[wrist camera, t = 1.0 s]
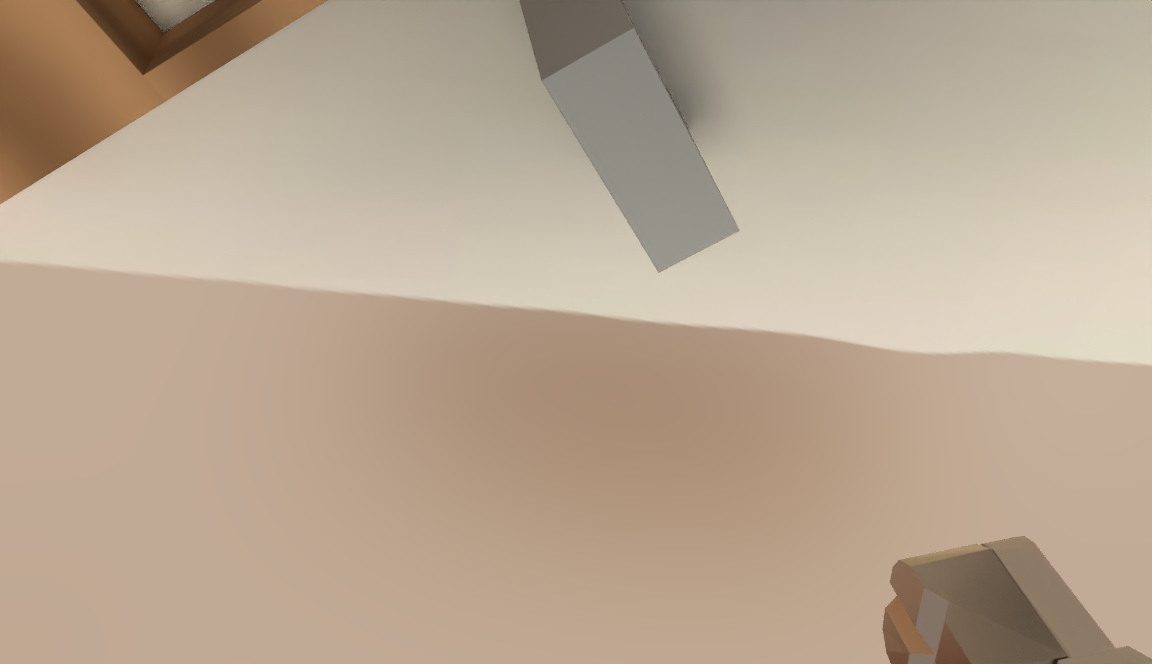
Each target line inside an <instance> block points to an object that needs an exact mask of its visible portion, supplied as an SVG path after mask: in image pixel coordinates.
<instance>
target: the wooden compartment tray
mask: <svg viewBox="0 0 1152 664" xmlns="http://www.w3.org/2000/svg"><path fill="white" fill-rule="evenodd" d="M325 1H327V0H216V1H214V2H212V3H211V4H209V5H208V6H206V7H205V8H203V9H201V10H200V11H198V12H197V13H195V14H194V15H192V16H190V17H189V18H187V19H186V20H184V21H183V22H181V23H180V24H178V25H176V26H175V27H173V28H172V29H170V30H169V31H167V32H165V33H164V34H163V33H162V32H161V30H160V29H159V28H158V27H157V26H156V25H155V23H154V22H153V21H152V20H151V19H150V18H149V16H148V15H147V14H146V13H145V12H144V11H143V9H142V8H141V7H140V6H139V5H138V4H137V2H136V1H135V0H0V204H1V203H3V202H4V201H6V200H8V199H9V198H11V197H12V196H14V195H16V194H17V193H19V192H20V191H22V190H24V189H25V188H27V187H29V186H30V185H32V184H33V183H35V182H37V181H38V180H40V179H41V178H43V177H45V176H46V175H48V174H49V173H51V172H53V171H54V170H56V169H57V168H59V167H61V166H62V165H64V164H65V163H67V162H69V161H70V160H72V159H73V158H75V157H77V156H78V155H80V154H81V153H83V152H85V151H86V150H88V149H89V148H91V147H93V146H94V145H96V144H98V143H99V142H101V141H102V140H104V139H106V138H107V137H109V136H110V135H112V134H114V133H115V132H117V131H118V130H120V129H122V128H123V127H125V126H126V125H128V124H130V123H131V122H133V121H134V120H136V119H138V118H139V117H141V116H142V115H144V114H146V113H147V112H149V111H150V110H152V109H154V108H155V107H157V106H159V105H160V104H162V103H163V102H165V101H167V100H168V99H170V98H171V97H173V96H175V95H176V94H178V93H179V92H181V91H183V90H184V89H186V88H187V87H189V86H191V85H192V84H194V83H195V82H197V81H199V80H200V79H202V78H203V77H205V76H207V75H208V74H210V73H211V72H213V71H215V70H216V69H218V68H219V67H221V66H223V65H224V64H226V63H228V62H229V61H231V60H232V59H234V58H236V57H237V56H239V55H240V54H242V53H244V52H245V51H247V50H248V49H250V48H252V47H253V46H255V45H256V44H258V43H260V42H261V41H263V40H264V39H266V38H268V37H269V36H271V35H272V34H274V33H276V32H277V31H279V30H280V29H282V28H284V27H285V26H287V25H288V24H290V23H292V22H293V21H295V20H297V19H298V18H300V17H301V16H303V15H305V14H306V13H308V12H309V11H311V10H313V9H314V8H316V7H317V6H319V5H321V4H322V3H324V2H325Z"/></svg>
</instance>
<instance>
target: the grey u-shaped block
mask: <svg viewBox="0 0 1152 664" xmlns="http://www.w3.org/2000/svg"><path fill="white" fill-rule="evenodd" d="M520 4H521V7H522V11H523V15H524V18H525V22H526V25H527V29H528V33H529V36H530V40H531V44H532V47H533V51H534V54H535V58H536V62H537V65H538V69H539V72H540V76H541V80H542V82H543V84H544V85H545V87H546V88H547V90H548V92H549V93H550V95H551V97H552V98H553V100H554V102H555V103H556V105H557V107H558V108H559V110H560V111H561V113H562V115H563V116H564V118H565V120H566V121H567V123H568V125H569V126H570V128H571V130H572V131H573V133H574V134H575V136H576V138H577V139H578V141H579V143H580V144H581V146H582V148H583V149H584V151H585V153H586V154H587V156H588V157H589V159H590V161H591V162H592V164H593V166H594V167H595V169H596V171H597V172H598V174H599V176H600V177H601V179H602V180H603V182H604V184H605V185H606V187H607V189H608V190H609V192H610V194H611V195H612V197H613V199H614V200H615V202H616V203H617V205H618V207H619V208H620V210H621V212H622V213H623V215H624V217H625V218H626V220H627V222H628V223H629V225H630V226H631V228H632V230H633V231H634V233H635V235H636V236H637V238H638V240H639V241H640V243H641V245H642V246H643V248H644V249H645V251H646V253H647V254H648V256H649V258H650V259H651V261H652V263H653V264H654V266H655V268H656V269H657V271H658V272H661V271H663V270H665V269H667V268H669V267H671V266H673V265H674V264H676V263H678V262H680V261H682V260H684V259H686V258H688V257H690V256H692V255H694V254H696V253H697V252H699V251H701V250H703V249H705V248H707V247H709V246H711V245H713V244H715V243H717V242H719V241H721V240H722V239H724V238H726V237H728V236H730V235H732V234H734V233H736V232H738V231H739V229H738V227H737V225H736V223H735V221H734V219H733V217H732V215H731V213H730V211H729V209H728V207H727V205H726V203H725V201H724V199H723V197H722V195H721V193H720V191H719V189H718V187H717V185H716V184H715V182H714V180H713V178H712V176H711V174H710V172H709V170H708V168H707V166H706V164H705V162H704V160H703V158H702V156H701V154H700V152H699V150H698V148H697V146H696V144H695V142H694V140H693V138H692V136H691V134H690V132H689V130H688V128H687V127H686V125H685V123H684V121H683V119H682V117H681V115H680V113H679V111H678V109H677V107H676V105H675V103H674V102H673V100H672V98H671V96H670V94H669V92H668V90H667V88H665V86H664V84H663V82H662V80H661V78H660V76H659V75H658V73H657V71H656V69H655V67H654V65H653V63H652V61H651V59H650V57H649V55H648V53H647V52H646V50H645V48H644V46H643V44H642V42H641V40H640V38H639V36H638V34H637V32H636V30H635V28H634V26H633V24H632V22H631V20H630V18H629V16H628V14H627V12H626V10H625V8H624V6H623V4H622V2H621V0H520Z"/></svg>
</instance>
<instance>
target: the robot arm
mask: <svg viewBox="0 0 1152 664" xmlns="http://www.w3.org/2000/svg"><path fill="white" fill-rule="evenodd" d="M890 583H891V585H892V587H893V588H894V590H895V592H896V594H897V596H896V598H895V599H894V600H893V601H892V602H891V603H890V604H889V605H888V606H887V607H886V608H885V614H884V621H883V634H884V640H885V646H886V652H887V655H888V657H889V660H890V663H891V664H1152V659H1151V658H1149V657H1147V656H1145V655H1143V654H1142V653H1140V652H1138V651H1136V650H1134V649H1133V648H1131V647H1129V646H1126V647H1120V648H1115V647H1114V645H1113V644H1112V643H1111V641H1110V640H1109V639H1108V638H1107V636H1106V635H1105V634H1104V632H1103V631H1102V630H1101V629H1100V627H1099V626H1098V625H1097V623H1096V622H1095V621H1094V620H1093V618H1092V617H1091V616H1090V614H1089V613H1088V612H1087V611H1086V609H1085V608H1084V607H1083V605H1082V604H1081V603H1080V602H1079V600H1078V599H1077V598H1076V596H1075V595H1074V594H1073V592H1072V591H1071V590H1070V588H1069V587H1068V586H1067V585H1066V583H1065V582H1064V581H1063V579H1062V578H1061V577H1060V575H1059V574H1058V573H1057V572H1056V570H1055V569H1054V568H1053V566H1052V565H1051V564H1050V563H1049V561H1048V560H1047V559H1046V557H1044V555H1043V553H1042V552H1041V551H1040V550H1039V548H1038V547H1037V546H1036V545H1035V543H1034V542H1033V541H1031V540H1030V539H1028V538H1026V537H1025V536H1021V537H1013V538H1009V539H1004V540H999V541H994V542H989V543H984V544H980V545H978V544H973V545H968V546H963V547H958V548H953V549H949V550H944V551H939V552H935V553H929V554H925V555H920V556H915V557H910V558H905V559H901V560H899V561H898V562H897V563H896V564H895V565H894V566H893V569H892V574H891V579H890Z"/></svg>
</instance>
